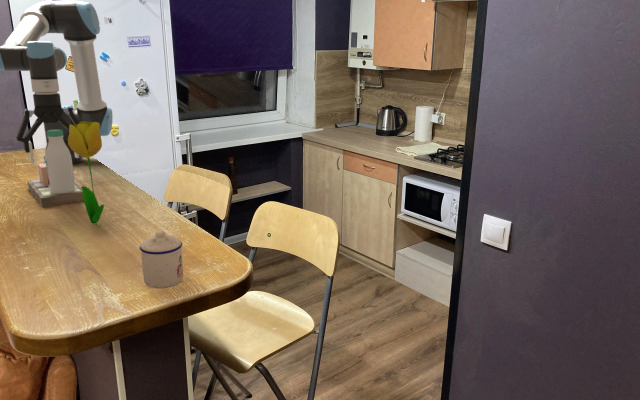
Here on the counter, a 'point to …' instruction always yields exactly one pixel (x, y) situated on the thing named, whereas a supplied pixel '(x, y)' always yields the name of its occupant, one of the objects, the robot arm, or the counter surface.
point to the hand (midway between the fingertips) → (55, 159)
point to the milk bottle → (59, 164)
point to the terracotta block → (43, 173)
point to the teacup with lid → (162, 260)
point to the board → (51, 199)
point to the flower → (86, 145)
